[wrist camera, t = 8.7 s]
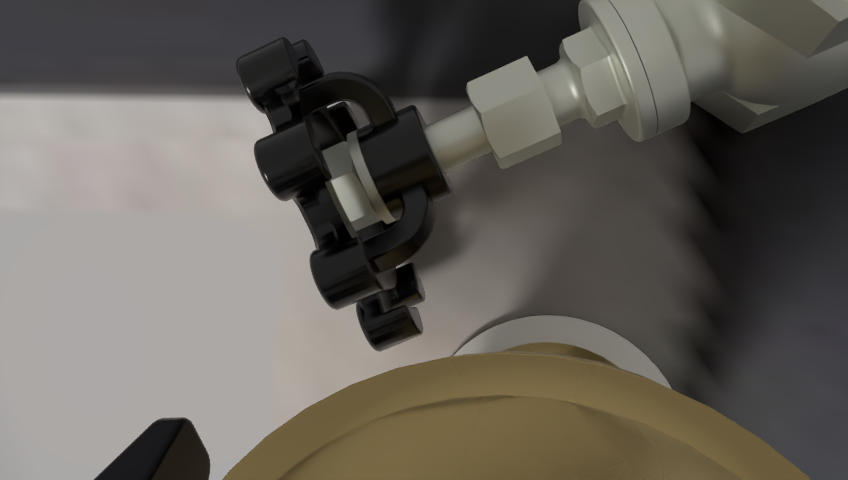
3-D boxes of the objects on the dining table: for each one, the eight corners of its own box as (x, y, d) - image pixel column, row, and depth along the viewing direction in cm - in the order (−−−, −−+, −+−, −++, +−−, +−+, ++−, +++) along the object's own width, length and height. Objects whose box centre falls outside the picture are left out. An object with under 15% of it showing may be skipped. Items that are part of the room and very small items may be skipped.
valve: (771, -105, 18) (314, 105, 20) (885, -348, 12) (192, -9, 13) (907, 145, 17) (409, 350, 18) (1118, 26, 10) (326, 356, 12)
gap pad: (714, 575, 16) (716, 577, 16) (439, 601, 17) (437, 605, 17) (660, 296, 17) (662, 295, 17) (401, 336, 18) (400, 336, 18)
